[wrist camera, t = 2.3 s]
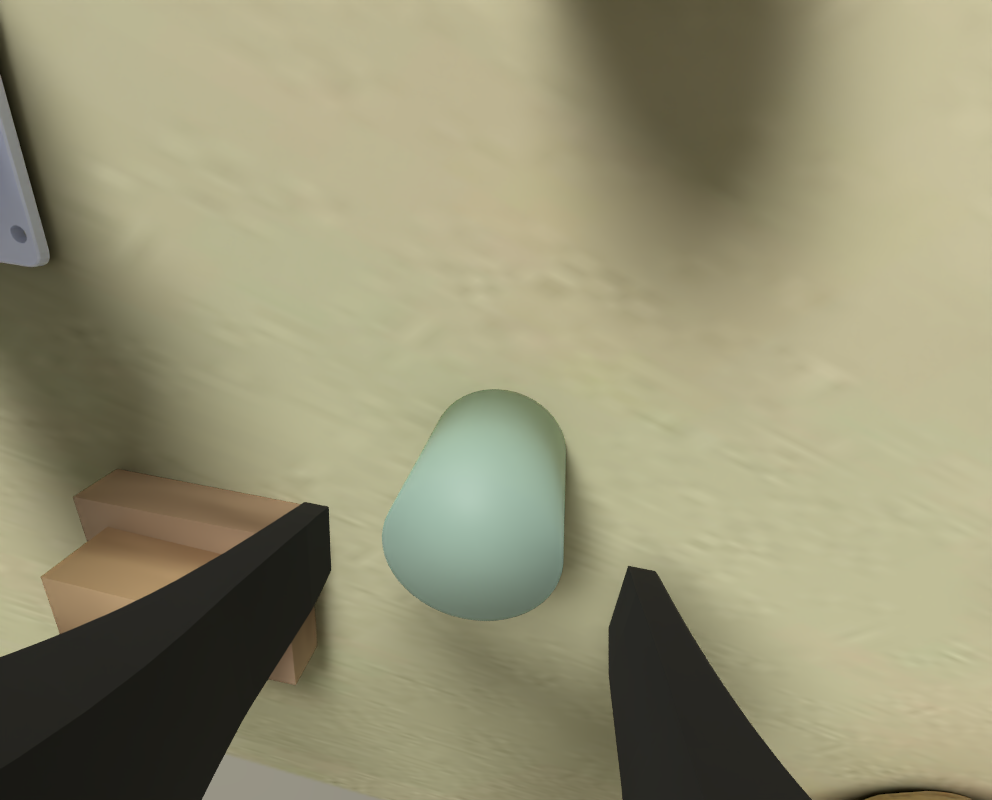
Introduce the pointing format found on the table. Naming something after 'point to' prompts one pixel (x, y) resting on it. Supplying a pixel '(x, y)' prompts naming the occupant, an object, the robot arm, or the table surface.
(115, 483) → the base block
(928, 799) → the oil lamp
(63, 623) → the top block
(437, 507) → the green cylinder
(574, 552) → the table surface
